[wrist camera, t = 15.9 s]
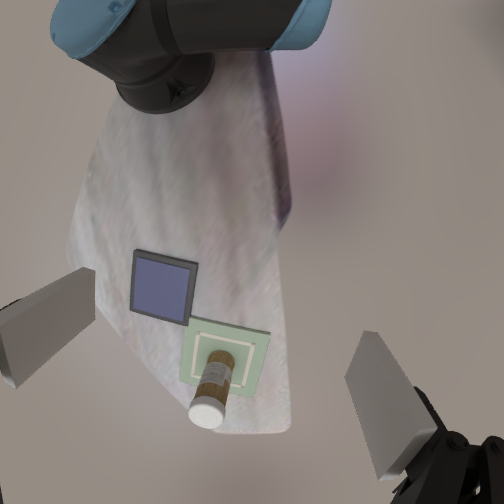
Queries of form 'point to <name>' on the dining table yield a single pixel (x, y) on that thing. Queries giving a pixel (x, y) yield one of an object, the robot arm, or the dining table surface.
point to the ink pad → (162, 287)
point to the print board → (227, 340)
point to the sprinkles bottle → (212, 391)
